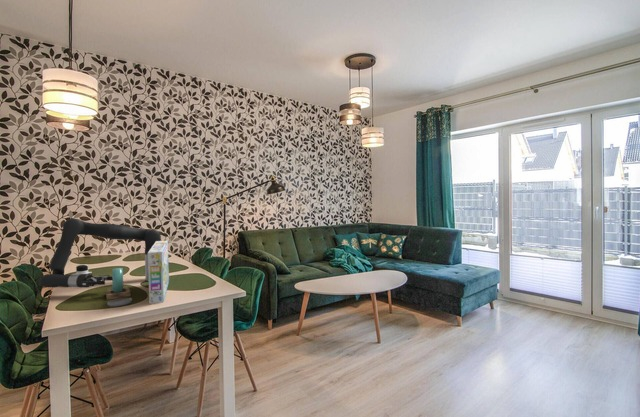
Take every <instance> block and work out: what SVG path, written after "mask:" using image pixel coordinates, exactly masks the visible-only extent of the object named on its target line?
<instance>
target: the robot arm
mask: <svg viewBox="0 0 640 417" xmlns="http://www.w3.org/2000/svg"><path fill="white" fill-rule="evenodd" d="M80 235H81V236H82V235H83V236H84V235H85V236H92V237H93V236H94V237H99V238H103V239H107V240H108V239H109V240H110V239H111V240H117V241H118V240H119V241H124V240H126V241H128V240H134V241H135V240H136V241H143V242H144V243H145V244H144V246H145V248H144V269H145V275H144V276H145V281H146V282H149V277H148V252H149V250H150V249H151V248H152V246H153V245H154V243H155V242H156V241H162V238H161V237H162V236H161V233H160V231H158V230H156V229H154V228H136V227H133V226H132V227H131V226H126V225H121V224H114V223H93V222H92V223H91V222H87V221H82V220H80V219H78V218H69V219H67V220H66V221H64V223H63V224H62V231H61V236H60V240H59V242H58V245H57V247H56V250H55V251H54V254H53V255H52V258H51V260H50V263H49V265H48V268H49V270H52V273H47V274H43V275H42V276H41V277H40V278H39V279H38V280H39V282H38V283H39V285H40V286H42V287H43V288H57V287H59V288H60V287H62V288H75V289H76V288H77V289H79V288H80V289H81V288H84V289H85V288H87V289H88V288H90V287H95V286H103V285H105V284H106V281H107V282H108V281H112V275H111V276H110V274H105V275H103V274H101V275H95V276H94V275H93V274H92V275H91V274H75V273H72V274H69V273H68V274H65V268H66V266H67V264H68V260H69V258H70V254H71V251H72V247H73V245H74V243H75V240H76V238H77V236H80Z"/></svg>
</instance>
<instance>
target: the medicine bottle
mask: <svg viewBox="0 0 640 417" xmlns="http://www.w3.org/2000/svg"><path fill="white" fill-rule="evenodd" d="M75 270H76V272H75V273H74V274H91V275H92V276H93V272H92V271H89V265H88V264H79V265H77V266H76V267H75Z"/></svg>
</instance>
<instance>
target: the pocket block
mask: <svg viewBox="0 0 640 417" xmlns="http://www.w3.org/2000/svg"><path fill="white" fill-rule="evenodd" d="M105 295H106V301H111V300H114V299H118V298H130V297H131V290H130V287H129V286H127V287H126V286H125V287H123V292H120V293H113V288H112V289H108V290H107V289H106V290H105Z"/></svg>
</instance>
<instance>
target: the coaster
mask: <svg viewBox="0 0 640 417" xmlns="http://www.w3.org/2000/svg"><path fill="white" fill-rule="evenodd" d="M132 302H133V298H131V297H123V298H116V299H110V300H108V301H107V303H106V304H107V306H108V307H112V308H116V307H123V306H127V305H130V304H131V303H132Z"/></svg>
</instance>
